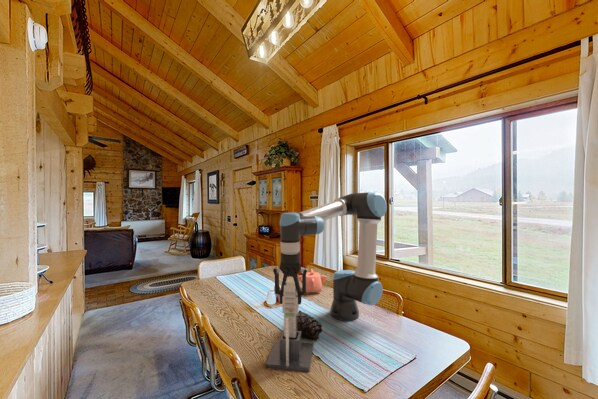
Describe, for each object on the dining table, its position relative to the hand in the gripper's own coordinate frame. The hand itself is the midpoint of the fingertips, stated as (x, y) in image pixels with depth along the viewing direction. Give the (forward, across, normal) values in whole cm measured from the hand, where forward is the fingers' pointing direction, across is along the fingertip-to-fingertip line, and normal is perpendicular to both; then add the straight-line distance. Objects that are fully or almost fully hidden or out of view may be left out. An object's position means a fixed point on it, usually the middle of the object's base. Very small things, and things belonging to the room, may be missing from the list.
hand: (290, 311), depth 105 cm
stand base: (+18, 0, 0) cm, 18 cm away
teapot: (+18, -2, -75) cm, 77 cm away
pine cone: (+18, -4, -18) cm, 26 cm away
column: (+9, 0, 0) cm, 9 cm away
